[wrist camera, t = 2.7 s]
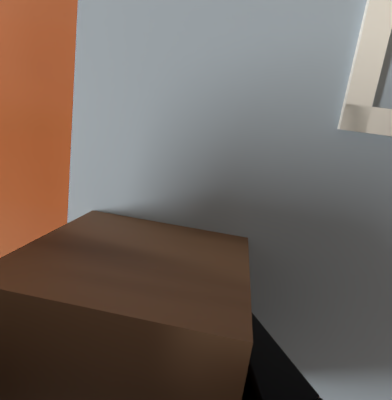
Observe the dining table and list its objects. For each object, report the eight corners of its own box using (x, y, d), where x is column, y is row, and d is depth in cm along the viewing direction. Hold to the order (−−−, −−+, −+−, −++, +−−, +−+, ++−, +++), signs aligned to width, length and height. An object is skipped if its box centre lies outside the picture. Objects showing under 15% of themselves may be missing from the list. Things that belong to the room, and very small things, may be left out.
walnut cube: (222, 376, 10) (206, 573, 5) (83, 344, 10) (-35, 502, 6) (247, 237, 9) (253, 342, 4) (92, 210, 9) (-43, 280, 5)
